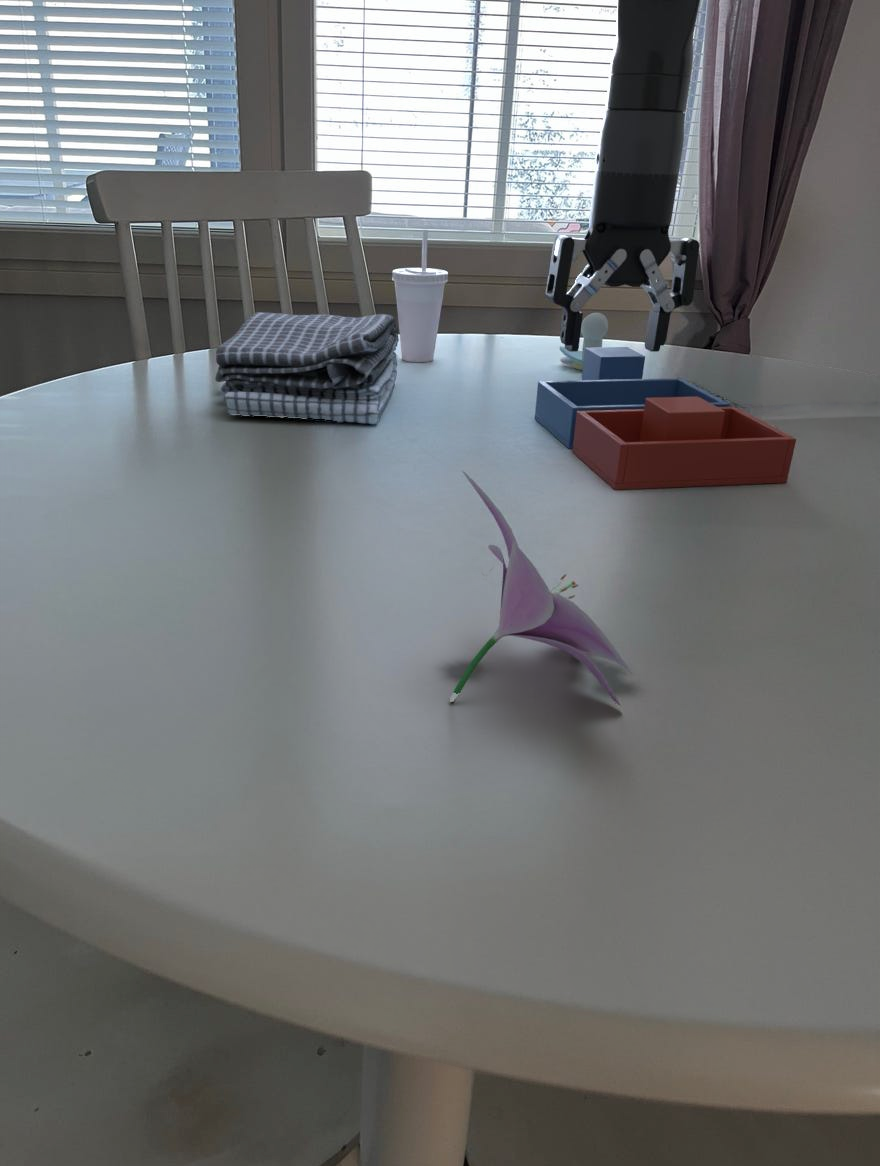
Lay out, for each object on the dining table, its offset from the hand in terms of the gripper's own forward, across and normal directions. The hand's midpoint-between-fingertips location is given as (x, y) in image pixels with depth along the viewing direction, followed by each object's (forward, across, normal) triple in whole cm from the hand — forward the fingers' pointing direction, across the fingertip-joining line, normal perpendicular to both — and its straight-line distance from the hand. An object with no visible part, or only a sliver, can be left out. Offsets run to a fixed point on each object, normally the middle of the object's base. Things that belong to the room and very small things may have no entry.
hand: (611, 350), depth 93 cm
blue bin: (+5, -3, -12) cm, 13 cm away
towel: (+5, -30, +2) cm, 30 cm away
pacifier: (+5, +3, +14) cm, 15 cm away
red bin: (+5, -3, -22) cm, 23 cm away
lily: (+5, -25, -54) cm, 60 cm away
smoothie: (+5, -16, +20) cm, 26 cm away
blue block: (+5, 0, 0) cm, 5 cm away
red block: (+4, -3, -22) cm, 23 cm away
